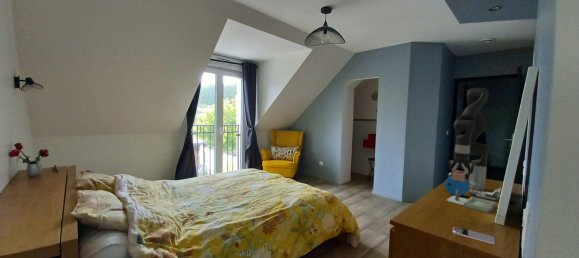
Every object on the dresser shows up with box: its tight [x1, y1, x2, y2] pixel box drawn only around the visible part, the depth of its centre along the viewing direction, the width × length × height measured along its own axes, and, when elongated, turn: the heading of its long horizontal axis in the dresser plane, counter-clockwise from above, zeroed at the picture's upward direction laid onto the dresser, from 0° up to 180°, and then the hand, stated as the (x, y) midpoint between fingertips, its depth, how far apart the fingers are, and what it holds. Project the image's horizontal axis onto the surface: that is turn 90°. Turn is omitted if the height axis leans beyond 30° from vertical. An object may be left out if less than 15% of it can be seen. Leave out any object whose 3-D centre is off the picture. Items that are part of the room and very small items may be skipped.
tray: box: [463, 197, 496, 214], centre depth 142 cm, size 16×12×2 cm
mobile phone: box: [452, 226, 496, 245], centre depth 109 cm, size 8×1×15 cm
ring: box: [451, 169, 466, 182], centre depth 150 cm, size 11×6×4 cm, turn 130°
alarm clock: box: [444, 171, 471, 197], centre depth 161 cm, size 13×6×15 cm, turn 45°
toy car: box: [468, 180, 502, 203], centre depth 159 cm, size 18×10×12 cm
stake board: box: [445, 190, 469, 206], centre depth 150 cm, size 13×9×7 cm
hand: (459, 178), depth 150 cm, fingers closed on ring, 6 cm apart
